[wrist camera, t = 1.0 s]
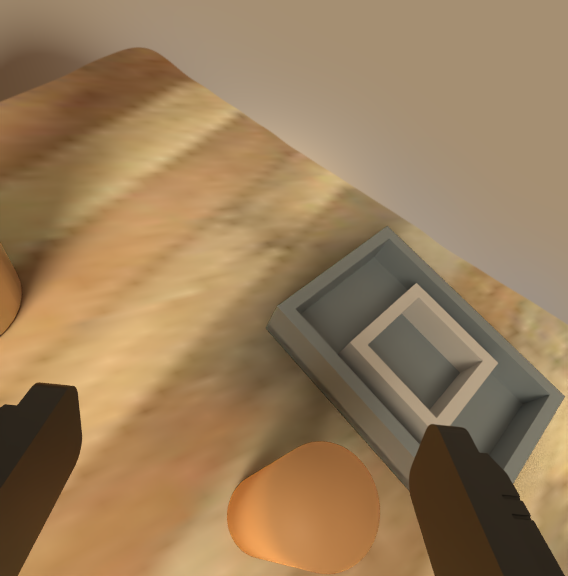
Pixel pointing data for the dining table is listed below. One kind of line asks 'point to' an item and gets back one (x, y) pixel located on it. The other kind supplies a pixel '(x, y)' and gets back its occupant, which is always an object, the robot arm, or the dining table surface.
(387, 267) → the walled box
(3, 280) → the robot arm
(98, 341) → the dining table surface
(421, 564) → the dining table surface
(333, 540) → the rounded orange object
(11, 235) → the dining table surface
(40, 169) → the dining table surface
